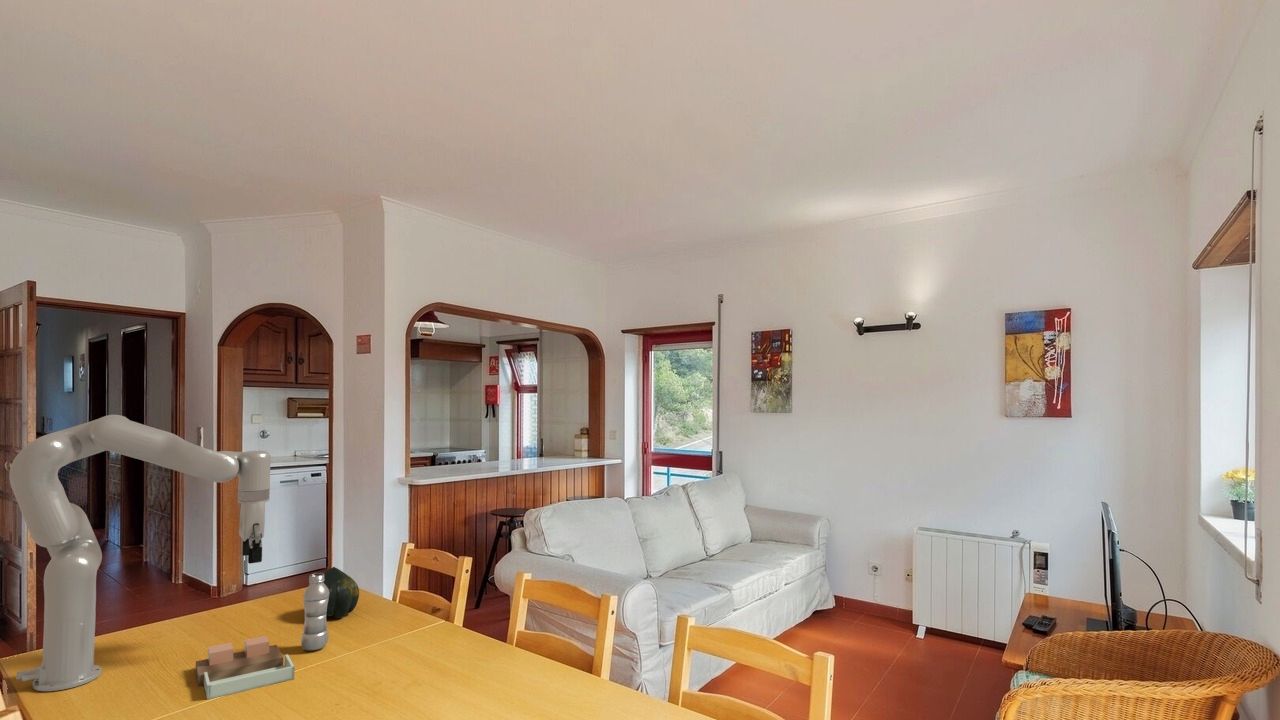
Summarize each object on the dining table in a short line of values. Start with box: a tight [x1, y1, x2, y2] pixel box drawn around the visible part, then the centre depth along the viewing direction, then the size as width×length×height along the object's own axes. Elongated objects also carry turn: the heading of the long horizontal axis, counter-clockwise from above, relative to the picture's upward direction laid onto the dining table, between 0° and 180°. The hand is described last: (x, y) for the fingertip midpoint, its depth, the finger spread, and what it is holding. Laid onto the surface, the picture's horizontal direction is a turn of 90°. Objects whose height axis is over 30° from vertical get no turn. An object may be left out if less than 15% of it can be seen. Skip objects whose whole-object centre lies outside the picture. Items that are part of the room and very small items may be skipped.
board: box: [195, 644, 284, 687], centre depth 167 cm, size 18×10×2 cm, turn 128°
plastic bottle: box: [300, 572, 329, 652], centre depth 181 cm, size 6×7×20 cm
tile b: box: [243, 635, 270, 658], centre depth 172 cm, size 5×5×3 cm
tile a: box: [207, 642, 234, 666], centre depth 167 cm, size 5×5×3 cm
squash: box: [323, 566, 360, 619], centre depth 207 cm, size 14×15×15 cm
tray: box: [203, 653, 296, 700], centre depth 161 cm, size 18×9×3 cm, turn 128°
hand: (251, 558), depth 182 cm, fingers open, 9 cm apart
